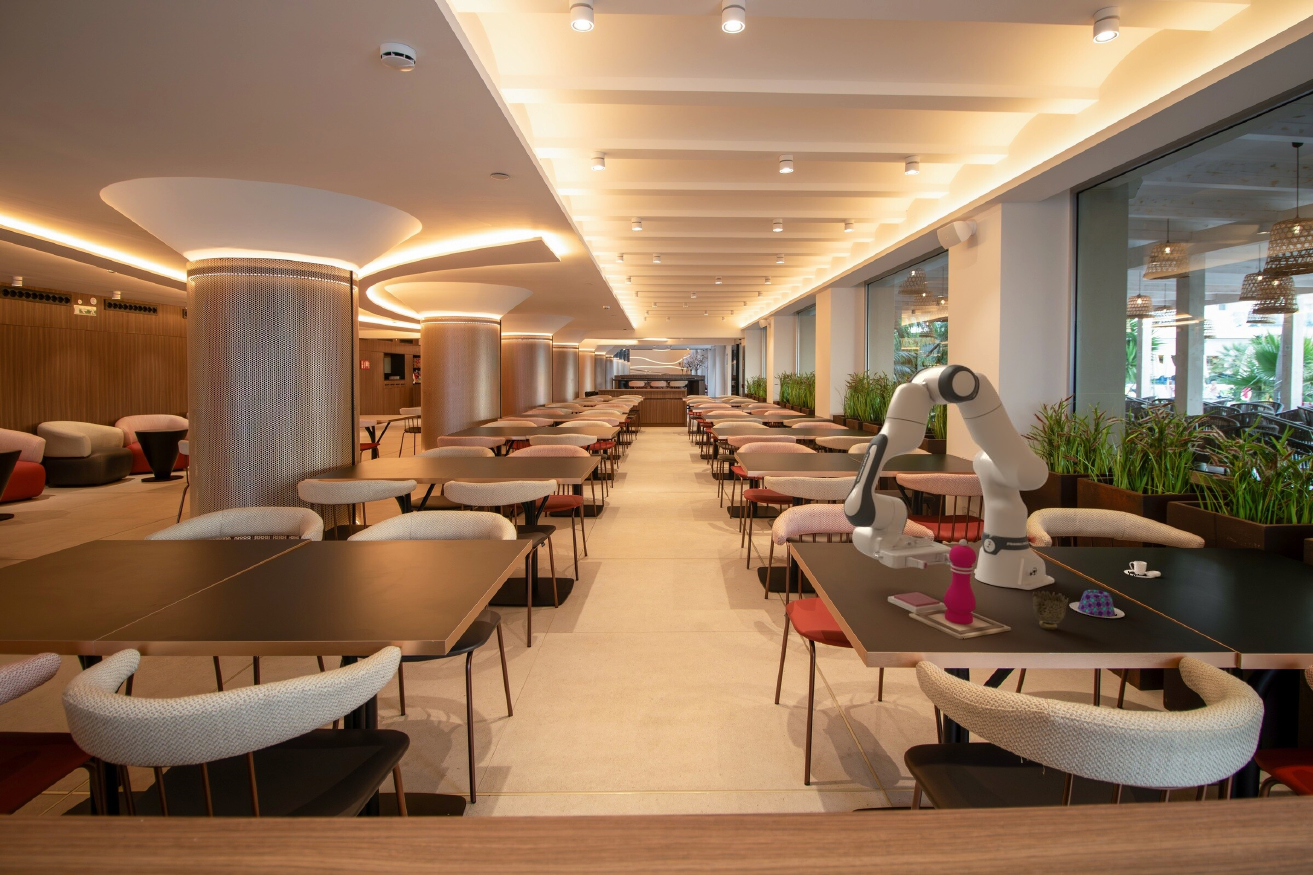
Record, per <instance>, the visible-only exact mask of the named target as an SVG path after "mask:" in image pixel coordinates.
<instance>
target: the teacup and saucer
mask: <svg viewBox="0 0 1313 875" xmlns="http://www.w3.org/2000/svg"><path fill="white" fill-rule="evenodd" d="M1131 564H1133V566H1134V568H1133V567H1132V565H1131ZM1129 566H1130V569H1126V570H1124V571H1123V572H1124V573H1125V574H1127V575H1129V573H1130V572H1134V574H1132V573H1130V576H1133V575H1134V577H1138V578H1146V579H1147V578H1156V577H1161V574H1162V573H1161V572H1160V571H1156V570H1150V571H1146V570H1147V562H1145V561H1140V560H1139V561H1138V560H1135V561H1131V562H1129ZM1128 571H1129V573H1128ZM1138 574H1139V575H1138ZM1135 575H1136V576H1135ZM1143 575H1146V576H1143Z"/></svg>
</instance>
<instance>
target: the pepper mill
mask: <svg viewBox="0 0 1313 875" xmlns="http://www.w3.org/2000/svg"><path fill="white" fill-rule="evenodd" d="M951 548H952V549H951V550H950V552H949V559H950V560H951V562H952V564H951V565H950V571H951V573H952V575H951V576H952V577H951V578H952V579H951V583H950V585H949V587H948V588H947V590H946V592H945V594H944V597H943V603H944V605H945V606H946V608H947V610H946V611H945V619H946V620H948V621H950V622H952V623H956V624H971V623H972V622H973V614H972V613H971V612H973V611H974V610H975V609H976V608H977V600H976V597H975V594H974V591H973V589H972V586H971V576H972V574H973V573H974V566H973V565H974V564H975V563H976V561H977V554H976V551H975V550H974V549H973V548H972V547H970V546H968V541H967V540H966V539H965V538H963V539H960V540H959V542H958V545H953V547H951Z"/></svg>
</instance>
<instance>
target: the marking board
mask: <svg viewBox="0 0 1313 875" xmlns="http://www.w3.org/2000/svg"><path fill="white" fill-rule="evenodd" d="M946 610H947V607H946V608H944V609H937V610H931V611H924V612H918V613H913V612H911V613H908V617H910V618H912V619H914V620H916V621H919V622H921V623H924V624H925V625H928V626H929V627H932V628H935V629H936V630H939V631H940V632H943V633H945V634H948V635H950V636H952V637H954V638H957V639H958V640H963V638H964V639H969V638H974V637H975V638H976V637H980V636H985V635H991V634H992V635H993V634H997V633H1003V632H1008V631H1012V627H1010V626H1008V625H1005V624H1003V623H1001V622H997V621H996V620H993V619H990V618H987V617H985V616H982V615H980V614H978V613H975V612H973V611H972V612H971V613H972V614H973V622H972V623H971V624H956V623H952V622H950V621H948V620H946V619H945V611H946Z"/></svg>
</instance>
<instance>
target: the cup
mask: <svg viewBox="0 0 1313 875" xmlns="http://www.w3.org/2000/svg"><path fill="white" fill-rule="evenodd" d="M1031 595H1032V604H1033V605H1032V606H1033V608H1032V609H1033V613H1034V616H1035V617H1036V619H1038V620H1039V626H1040V627H1041V628H1042V629H1045V630H1052V631H1054V630H1056V629H1057V627H1058V624H1059V623H1061V622H1062V621H1063V620H1064V618H1065V616H1066V611H1067V608H1068V604H1069V603H1068V602H1069V598H1068V597H1067V598H1066V596H1065V595H1063V594H1062V593H1057V594H1056V593H1055V591H1054V592H1052V593H1050V592H1049V591H1047V590H1046V592H1045V591H1044V590H1043V591H1041V592H1040V591H1039V590H1038V591H1037V592H1036V591H1033V592H1032V594H1031Z"/></svg>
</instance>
